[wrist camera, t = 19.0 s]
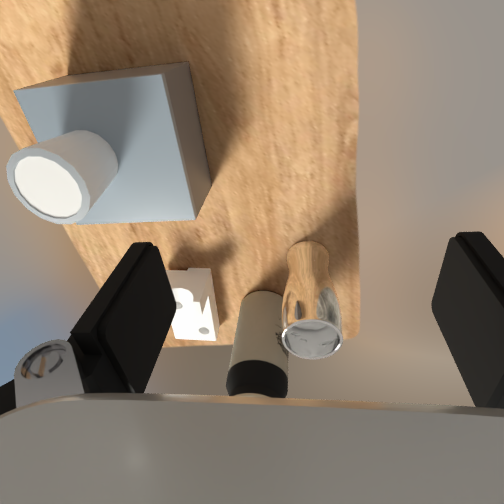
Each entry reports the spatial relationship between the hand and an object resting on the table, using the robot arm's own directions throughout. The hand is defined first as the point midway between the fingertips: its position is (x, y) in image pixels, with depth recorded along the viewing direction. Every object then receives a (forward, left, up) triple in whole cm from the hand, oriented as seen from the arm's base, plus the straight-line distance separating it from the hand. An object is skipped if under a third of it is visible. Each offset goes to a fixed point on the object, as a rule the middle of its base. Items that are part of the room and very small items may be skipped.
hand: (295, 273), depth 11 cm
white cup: (+3, -20, -22) cm, 30 cm away
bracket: (+30, -18, -31) cm, 46 cm away
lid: (+3, -18, -22) cm, 29 cm away
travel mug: (+32, -6, -31) cm, 45 cm away
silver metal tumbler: (+22, +1, -31) cm, 38 cm away
